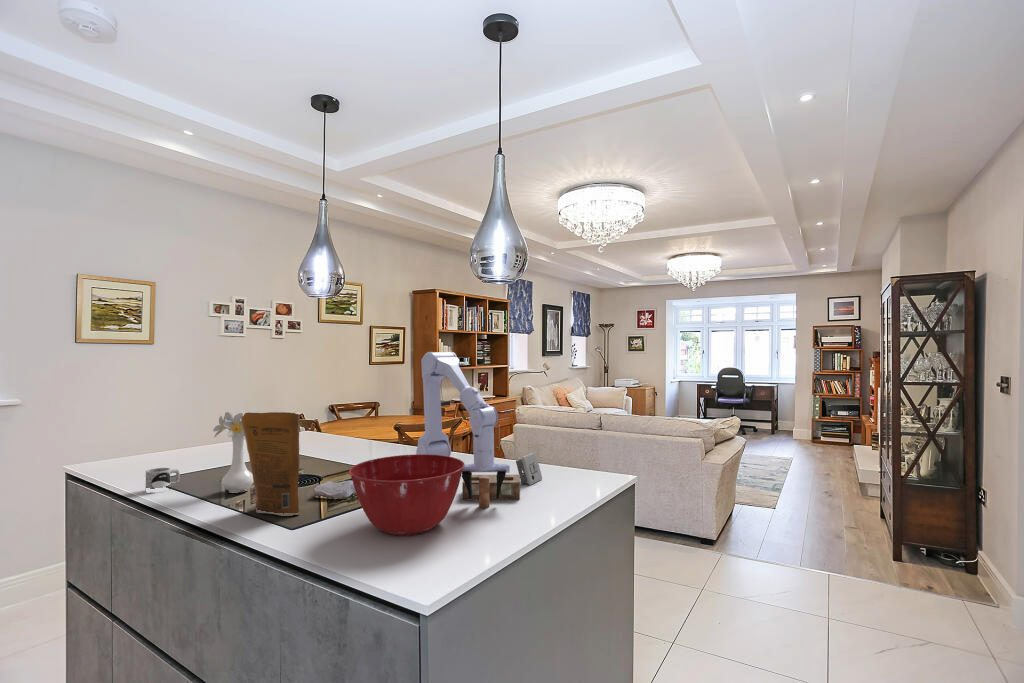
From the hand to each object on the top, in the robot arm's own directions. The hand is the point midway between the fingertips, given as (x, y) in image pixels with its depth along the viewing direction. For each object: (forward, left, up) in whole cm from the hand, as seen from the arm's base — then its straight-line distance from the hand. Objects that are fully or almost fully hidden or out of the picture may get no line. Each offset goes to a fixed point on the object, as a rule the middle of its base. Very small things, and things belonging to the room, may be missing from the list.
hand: (484, 497), depth 151 cm
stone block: (-47, +11, -3) cm, 48 cm away
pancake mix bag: (-57, -6, -3) cm, 58 cm away
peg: (0, 0, -2) cm, 2 cm away
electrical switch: (+13, +28, -3) cm, 31 cm away
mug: (-106, +20, -3) cm, 108 cm away
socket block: (+2, +12, -2) cm, 12 cm away
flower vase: (-79, +17, -3) cm, 81 cm away
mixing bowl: (-18, -17, -3) cm, 25 cm away
